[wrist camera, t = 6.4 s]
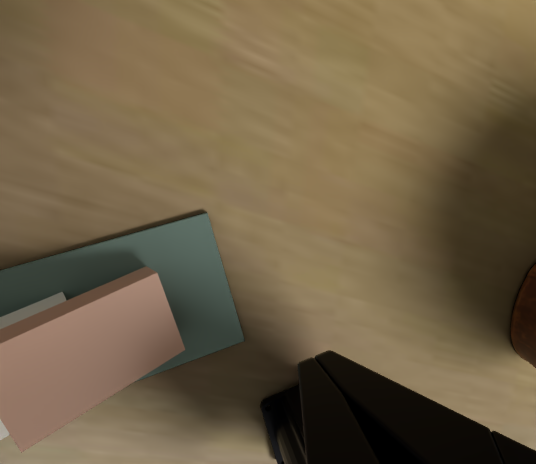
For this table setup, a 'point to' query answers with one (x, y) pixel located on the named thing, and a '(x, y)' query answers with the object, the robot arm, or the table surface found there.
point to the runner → (134, 258)
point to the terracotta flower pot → (525, 319)
